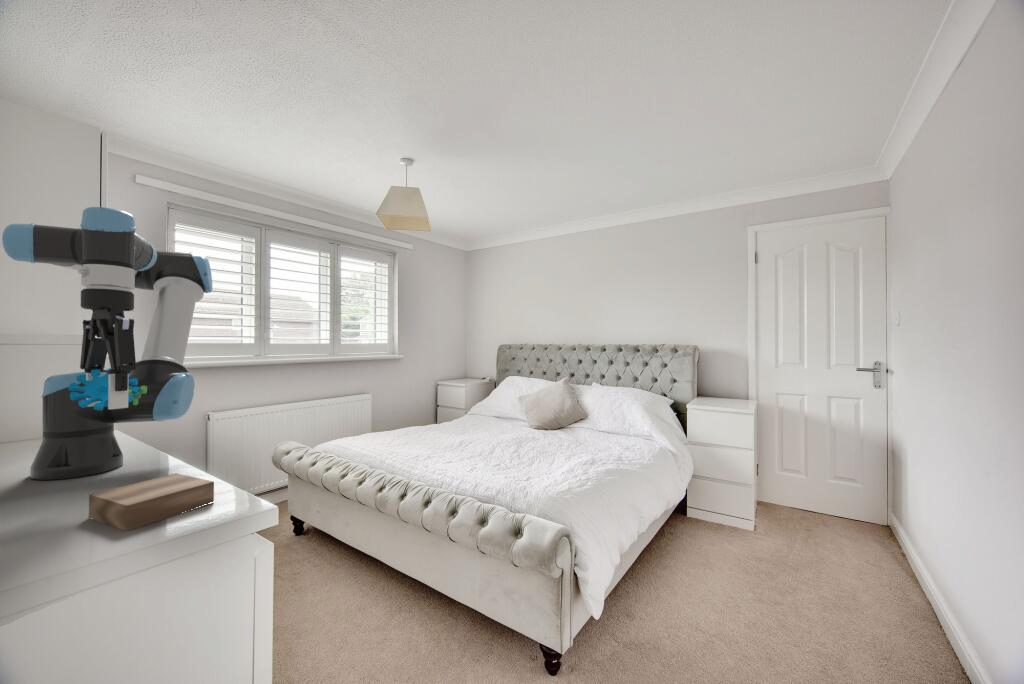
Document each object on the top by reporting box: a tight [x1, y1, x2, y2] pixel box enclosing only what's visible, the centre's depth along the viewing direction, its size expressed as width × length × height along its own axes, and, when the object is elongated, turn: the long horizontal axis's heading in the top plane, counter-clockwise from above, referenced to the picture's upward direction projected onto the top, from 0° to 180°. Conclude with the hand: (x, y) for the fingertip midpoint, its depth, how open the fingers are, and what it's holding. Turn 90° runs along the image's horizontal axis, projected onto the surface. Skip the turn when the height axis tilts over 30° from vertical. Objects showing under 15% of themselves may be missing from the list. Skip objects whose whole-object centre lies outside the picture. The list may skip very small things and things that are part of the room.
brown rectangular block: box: [88, 473, 215, 532], centre depth 75 cm, size 12×13×4 cm
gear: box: [68, 367, 147, 411], centre depth 83 cm, size 11×6×10 cm
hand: (106, 406), depth 82 cm, fingers closed on gear, 8 cm apart
